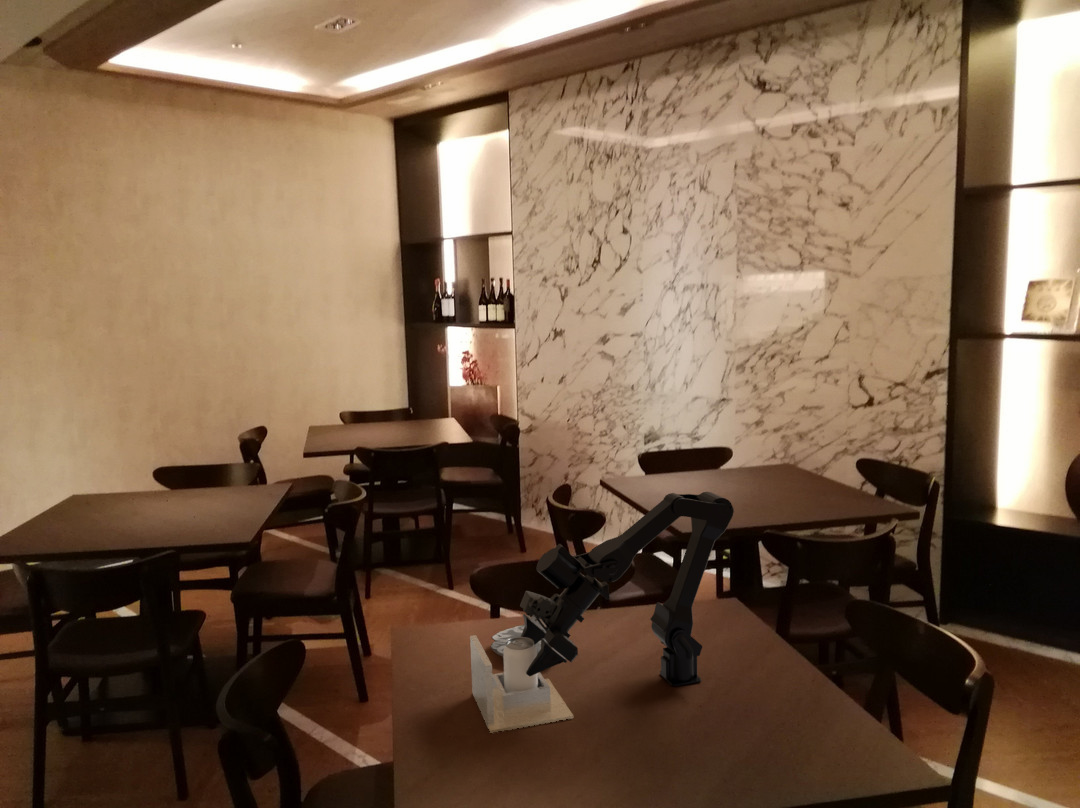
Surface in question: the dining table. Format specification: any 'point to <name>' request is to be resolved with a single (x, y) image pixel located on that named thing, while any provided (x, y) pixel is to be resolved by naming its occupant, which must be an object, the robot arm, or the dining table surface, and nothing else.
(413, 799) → the dining table surface
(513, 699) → the cup bracket
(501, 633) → the brain slice
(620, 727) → the dining table surface
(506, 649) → the can
